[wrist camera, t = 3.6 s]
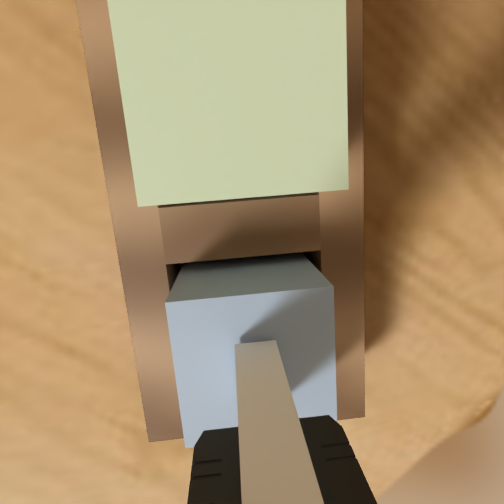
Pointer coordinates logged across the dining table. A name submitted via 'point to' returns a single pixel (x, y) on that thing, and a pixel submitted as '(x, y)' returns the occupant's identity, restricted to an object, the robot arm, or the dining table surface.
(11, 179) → the dining table surface
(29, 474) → the dining table surface
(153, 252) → the wooden cube holder tray
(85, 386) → the dining table surface
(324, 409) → the pale blue-grey cube
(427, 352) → the dining table surface
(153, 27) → the pastel lime cube
